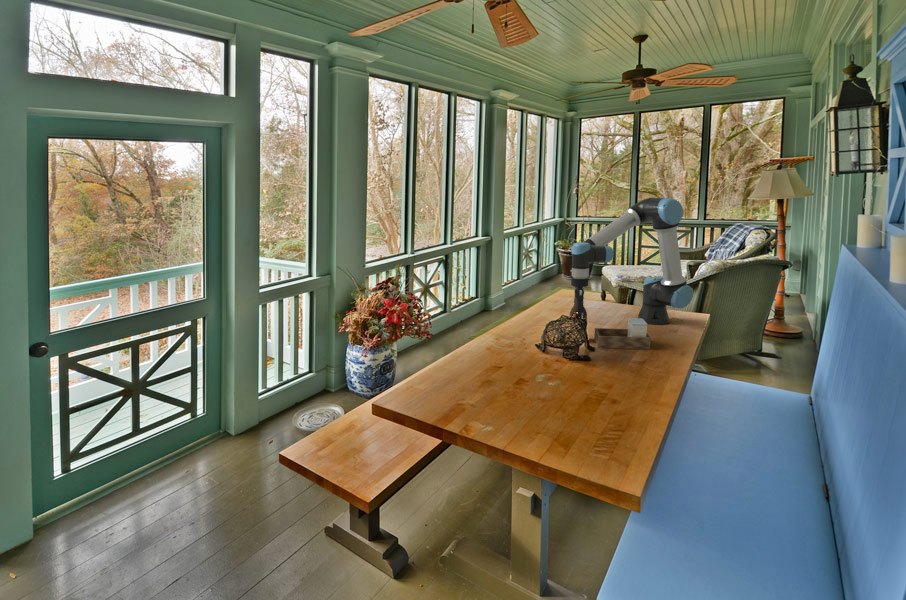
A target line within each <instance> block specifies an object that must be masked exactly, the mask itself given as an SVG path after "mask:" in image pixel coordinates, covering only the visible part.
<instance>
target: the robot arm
mask: <svg viewBox="0 0 906 600" xmlns="http://www.w3.org/2000/svg"><path fill="white" fill-rule="evenodd" d="M683 216H684V208H683V206H682V203H681V202H680V201H679V200H677V199H675V198H670V197H647V198H644V199H641V200H640V201H638V202H636V203H635V204H633V205H631V206H630V207H628V209H626V210H625V211H624V214H622V215H621V216H619V217H618V218H616V219H615V220H614V221H612V222H610V223H608V224H607V225H606V226H605V227H603V228H602V229H600V230H598V231H597V232H595V233H593V235H591V236H590V237H588V238H587V239H585V240H584V241H580V242H575V243H573V245H572V247H571V249H570V251H571V269H570V273H571V280H570V285H571V286H572V287H574V288H575V289H576V288H577V290H575V289H574V296H575V295H576V300H577V311H576V312H578V313H579V317H580V318H581V319H583V312H584V311H583V305H584V298H585V297H584V296H585V295H584V294H585V290H584V288H586V287H588V286H589V277H590V264H605V263H610V262H611V261H612V260H613V258H614V250H613V248H612V247H611V246H609V245H608V244H610V243H612V242H613V241H614V240H615V239H617V238H618V237H620V236H621V235H623V234H624V233H626V232H628V231H629V230H631V229H632V228H634V227H639V226H640V225H642V224H646V223H651V224H652V230H654V232H656V237H657V241H658V249H659V256H660V263H661V270H662V276H650V277H646V278H644V279H643V280H644V281H643V287H642V293H643V294H642V304H641V305H642V306H641V308H640V311H639V313H638V315H637V318H641V319H644V321H645V322H646V323H647V324H648V325H666V324H668V323H669V322H670V317H669V313H668V309H667V306H668V307H672V308H676V309H684V308H686V307H688V306H689V305H690V303H691V301H692V300H693V298H694V289H693V288H692V286H690V285H688V283H687V278H686V277H685V276H684V275H683V270H682V262H681V255H680V247H679V241H678V239H679V238H678V232H677V229H678V227H679V226H680V222H681V220H682V219H683V218H682V217H683ZM583 290H584V291H583ZM573 299H574V300H573V303H575V297H574V298H573Z"/></svg>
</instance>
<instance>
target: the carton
mask: <svg viewBox="0 0 906 600" xmlns="http://www.w3.org/2000/svg"><path fill="white" fill-rule="evenodd" d="M627 320H628V322H627V323H628V324H627V329H628V337H646V333H648V332H647V329H648V328H647V327H648V325H649V324H647V323H646V322H645V321H644V319H641V318H638V317H637V318H635V317H634V318H633V317H628V318H627Z"/></svg>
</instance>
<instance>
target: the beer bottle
mask: <svg viewBox="0 0 906 600" xmlns="http://www.w3.org/2000/svg"><path fill="white" fill-rule="evenodd" d="M575 290H577V288H576V289H574V291H575ZM583 291H584V292H585V290H584V289H583ZM574 298H575V303H574V302H573V303H574V304H573V306H572V308H571V309H570V312H569V318H570V317H572V316H573V314H574V312H576V311H577V300H576V295H575V294H574ZM583 311H584V312H583V319H584V320H585V321H586V328H588V327H587V325H588V324H587V322H588V312H587V309H586V308H585V306H584V304H583Z"/></svg>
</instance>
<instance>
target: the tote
mask: <svg viewBox="0 0 906 600" xmlns="http://www.w3.org/2000/svg"><path fill="white" fill-rule="evenodd" d="M593 334H594V337H593V340H594V342H595V344H596V346H597V348H600V349H601V348H603V349H605V348H606V349H633V350H650V349H651V340H652V339H651V336H650V335H649V334H648V332H646V337H628V328H605V327H602V328H599V327H595V328H594V333H593Z"/></svg>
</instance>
